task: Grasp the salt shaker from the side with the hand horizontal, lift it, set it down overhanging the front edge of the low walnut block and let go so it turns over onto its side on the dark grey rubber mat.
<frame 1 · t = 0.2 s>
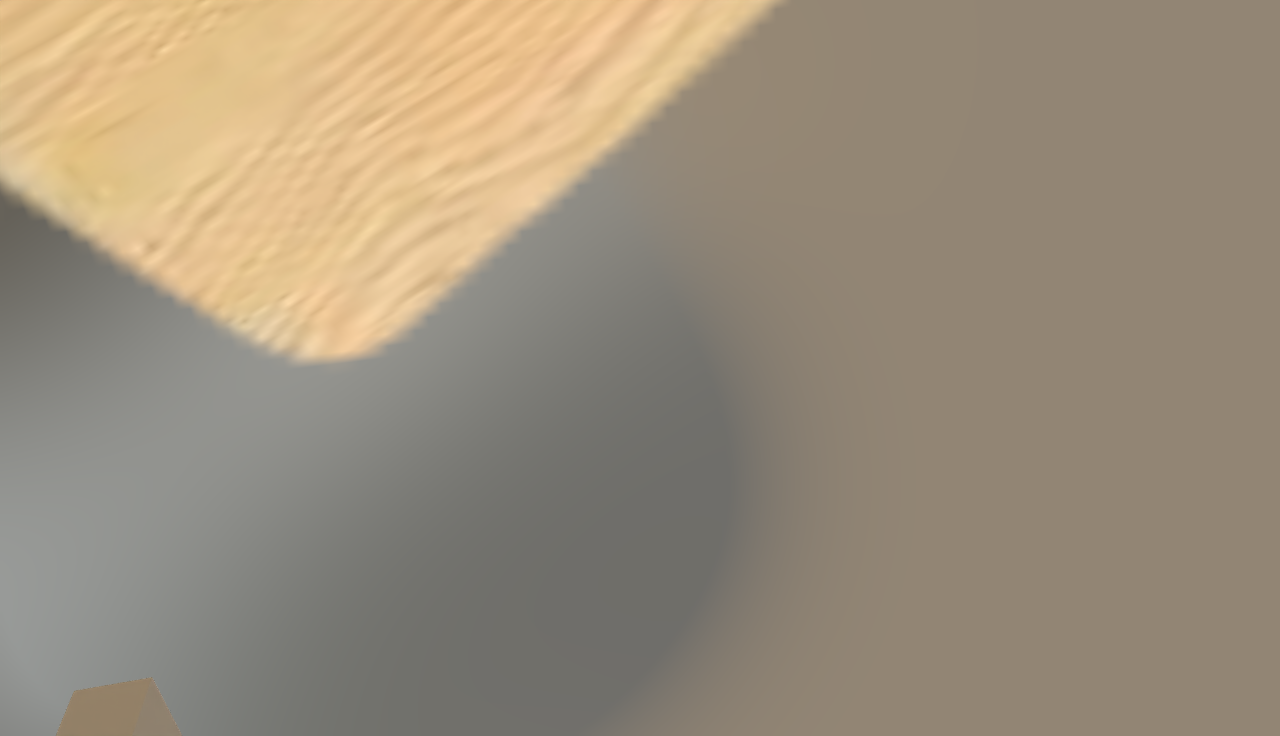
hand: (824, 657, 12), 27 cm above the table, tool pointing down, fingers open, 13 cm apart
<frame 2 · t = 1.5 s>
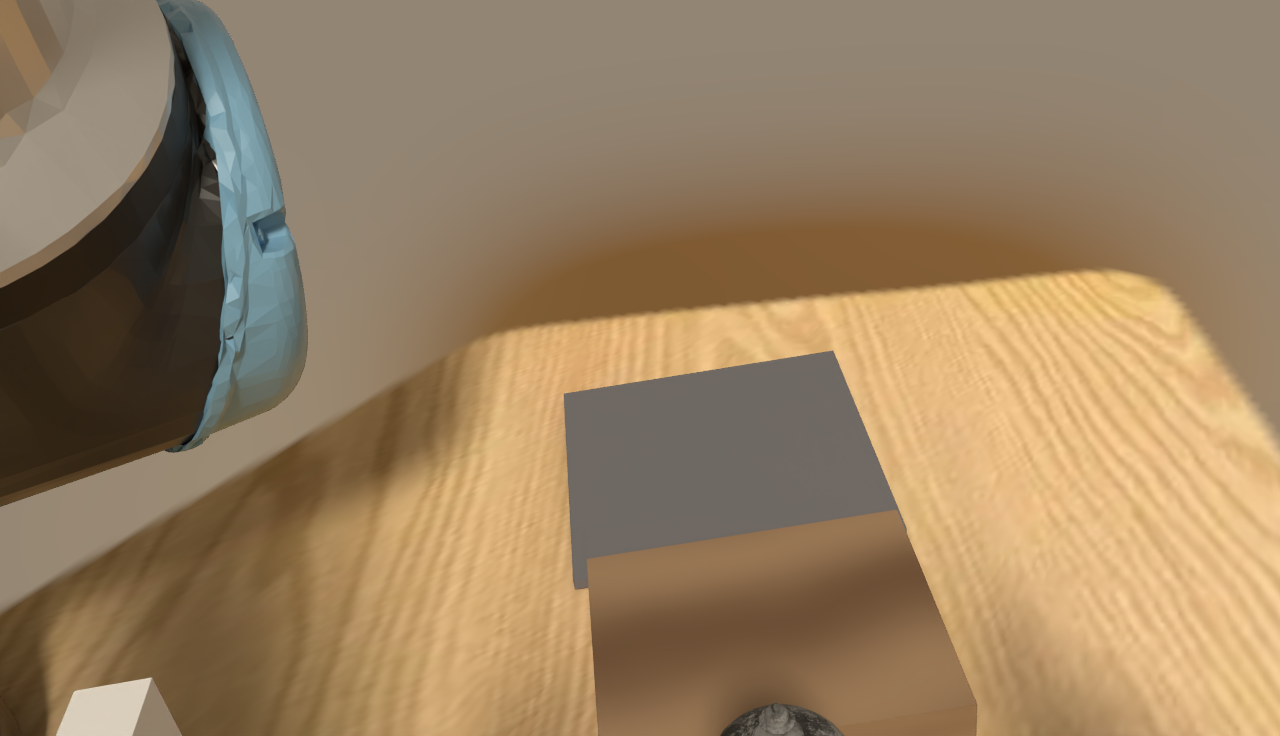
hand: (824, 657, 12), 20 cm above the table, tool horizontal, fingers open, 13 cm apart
ledge block: (773, 716, 37), on the table
mat: (717, 461, 48), on the table
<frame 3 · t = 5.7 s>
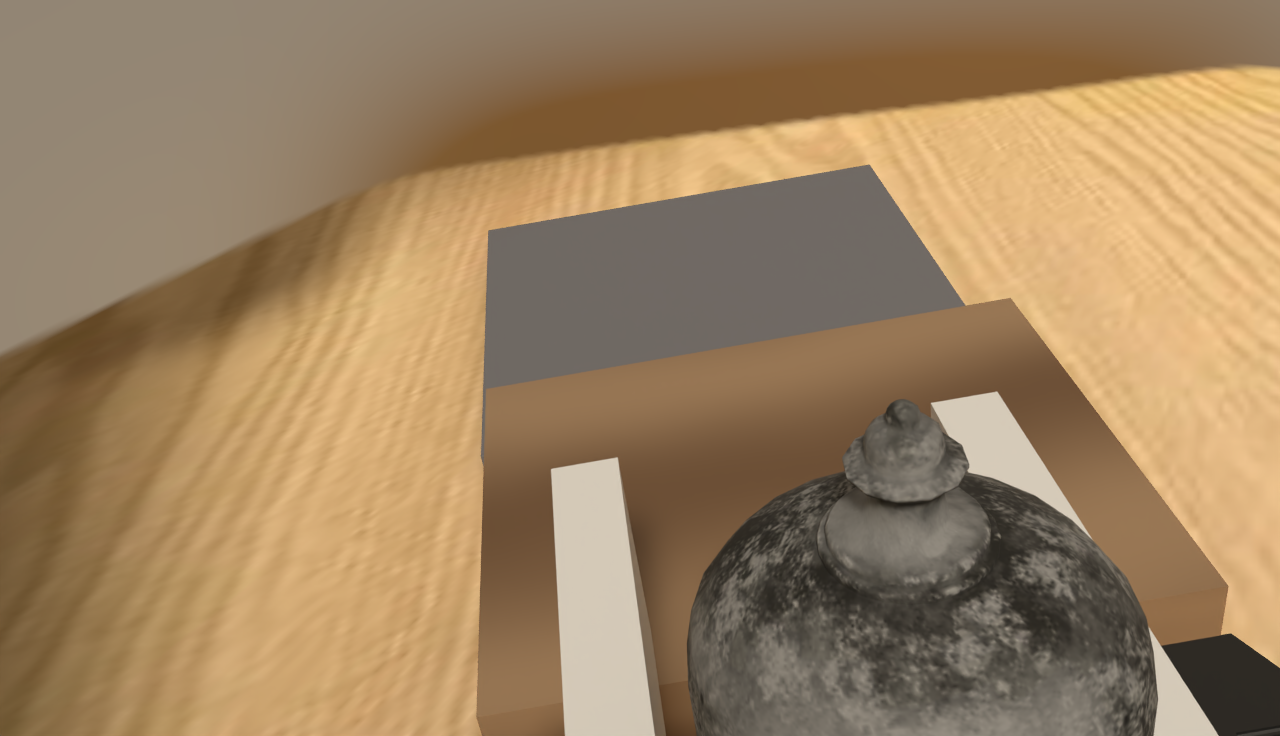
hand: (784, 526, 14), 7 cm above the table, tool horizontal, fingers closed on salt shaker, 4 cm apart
ledge block: (808, 648, 21), on the table
mat: (708, 300, 32), on the table
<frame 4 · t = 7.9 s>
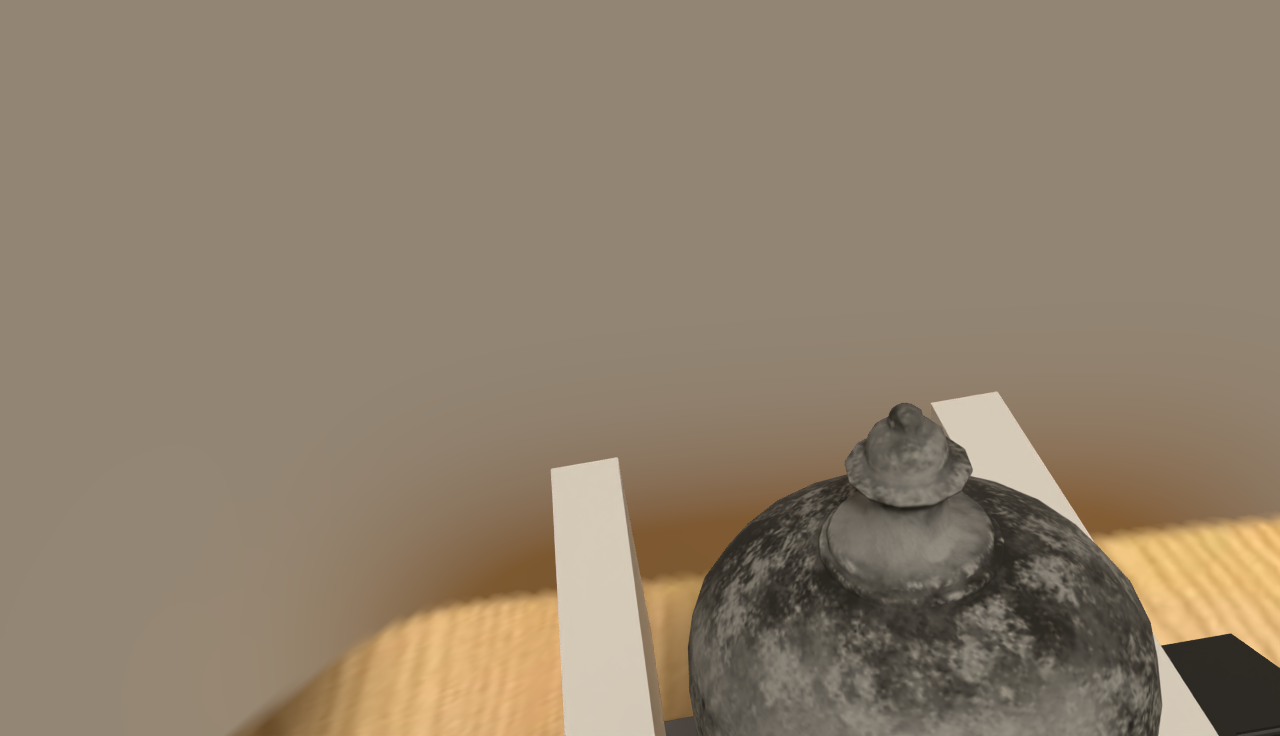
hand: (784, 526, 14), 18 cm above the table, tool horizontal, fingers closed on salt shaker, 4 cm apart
when the fingers open (11 cm above the table, at t = 10.1 s): salt shaker moves 2 cm, resting on mat.
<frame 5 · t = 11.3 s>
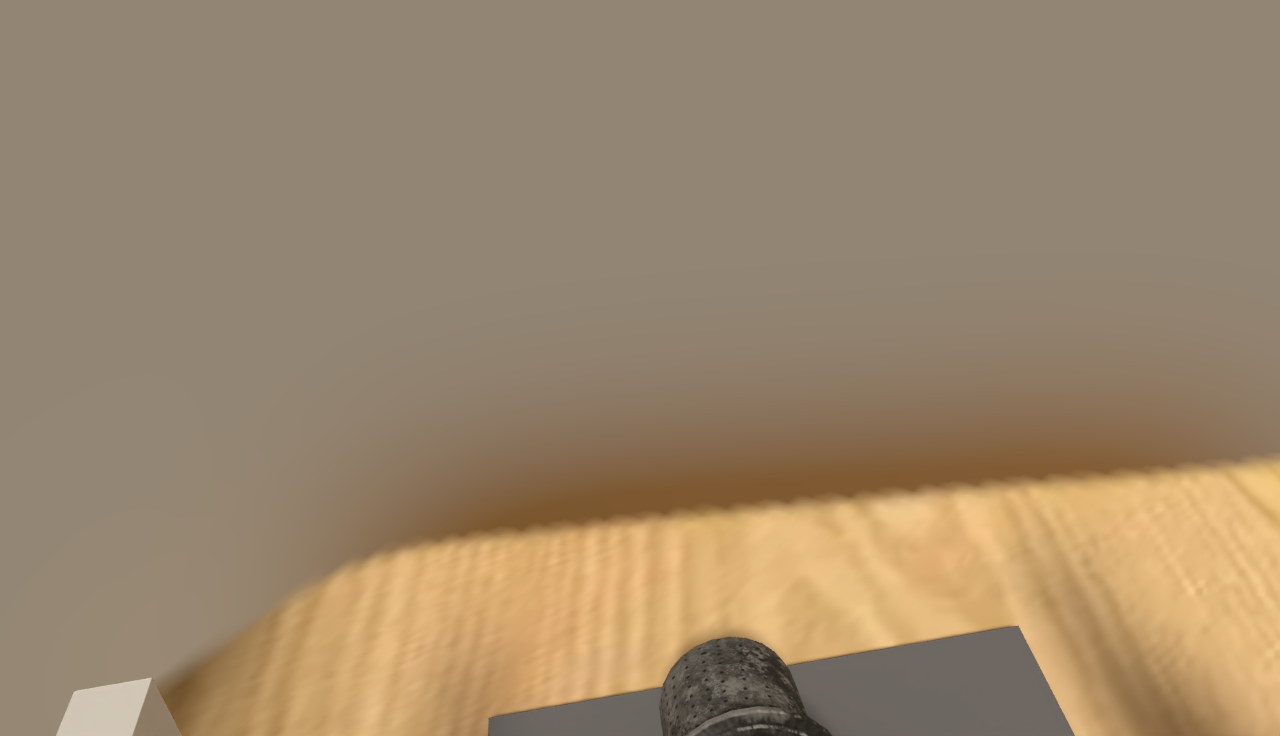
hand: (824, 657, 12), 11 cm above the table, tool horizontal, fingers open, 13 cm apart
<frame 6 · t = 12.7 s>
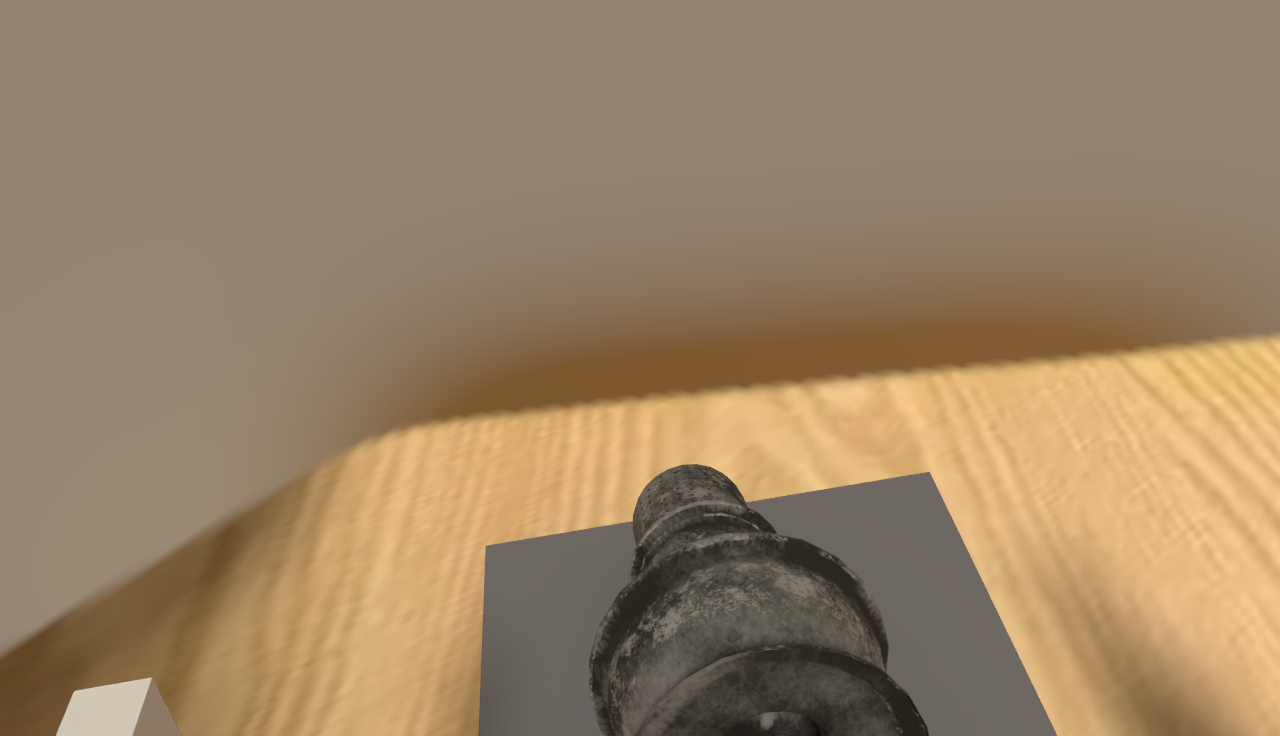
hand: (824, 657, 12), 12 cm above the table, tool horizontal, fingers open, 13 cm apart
mat: (744, 688, 27), on the table
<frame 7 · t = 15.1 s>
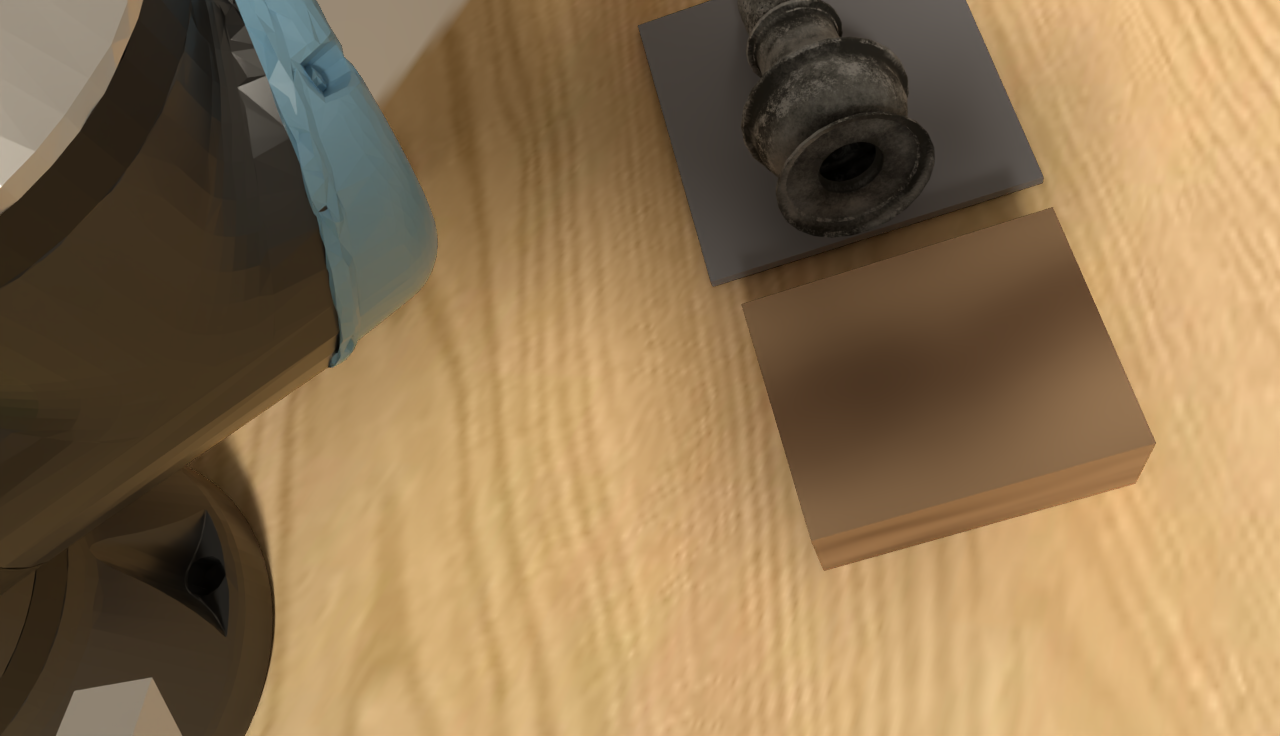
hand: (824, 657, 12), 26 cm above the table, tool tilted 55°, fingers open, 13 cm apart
ledge block: (936, 413, 39), on the table
salt shaker: (857, 183, 38), point 4 cm above the table, touching mat
mat: (826, 101, 45), on the table
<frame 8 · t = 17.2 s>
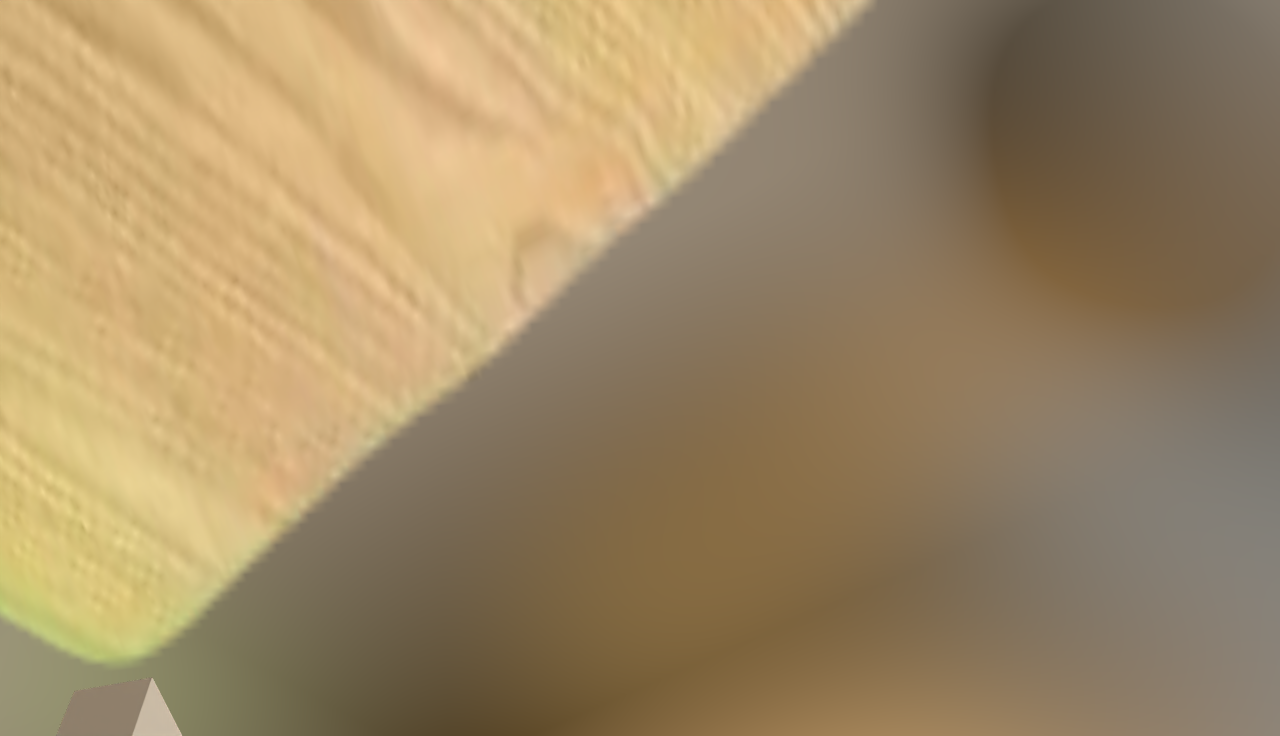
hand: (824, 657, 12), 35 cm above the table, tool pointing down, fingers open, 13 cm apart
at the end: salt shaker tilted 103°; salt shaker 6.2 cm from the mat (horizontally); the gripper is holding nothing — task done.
